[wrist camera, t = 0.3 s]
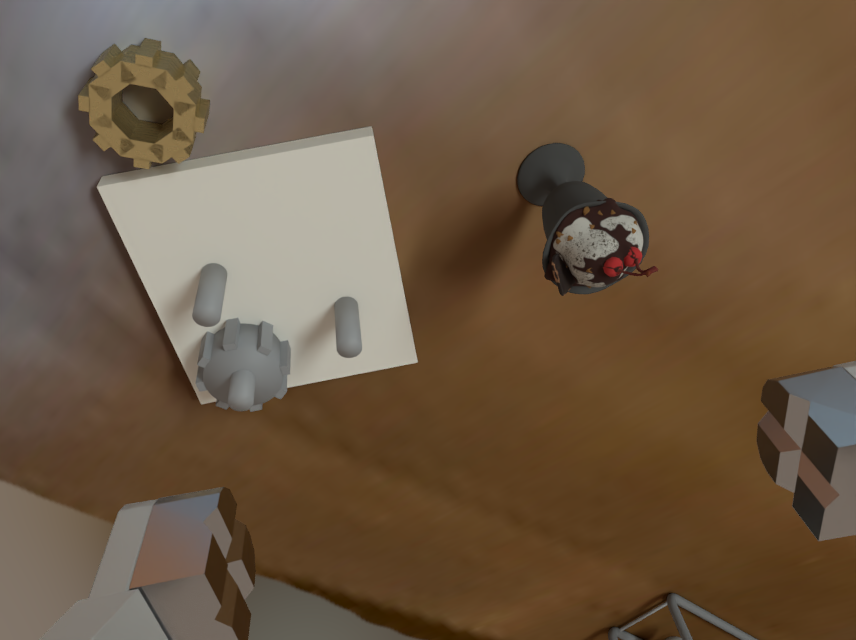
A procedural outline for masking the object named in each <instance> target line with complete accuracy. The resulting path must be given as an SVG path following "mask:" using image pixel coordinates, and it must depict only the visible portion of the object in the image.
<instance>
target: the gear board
mask: <svg viewBox="0 0 856 640" xmlns="http://www.w3.org/2000/svg"><path fill="white" fill-rule="evenodd" d="M97 189H98V191H99V193H100V195H101V197H102V199H103V201H104V203H105V205H106V207H107V209H108V211H109V214H110V216H111V218H112V220H113V222H114V224H115V226H116V228H117V230H118V232H119V234H120V236H121V239H122V241H123V243H124V245H125V247H126V249H127V251H128V253H129V255H130V257H131V259H132V261H133V263H134V266H135V268H136V270H137V272H138V274H139V276H140V278H141V280H142V282H143V284H144V286H145V288H146V291H147V293H148V295H149V297H150V299H151V301H152V303H153V305H154V307H155V309H156V311H157V313H158V315H159V318H160V320H161V322H162V324H163V326H164V328H165V330H166V332H167V334H168V336H169V338H170V340H171V343H172V345H173V347H174V349H175V351H176V353H177V355H178V357H179V359H180V361H181V363H182V365H183V367H184V370H185V372H186V374H187V376H188V378H189V380H190V382H191V384H192V386H193V388H194V390H195V392H196V395H197V397H198V399H199V401H200V403H201V404H206V403H211V402H216V406H218V407H221V408H223V409H226V410H227V408H228V407H230V408H232V409H233V410H236V411H246V410H248V409H250V412H252V411H257V410H262V403H265V402H267V401H268V400H270V399H272V398H273V397H277V398H279V399H281V398H282V397H283V396H284V395H285V394H286V392H287V388H288V387H294V386H299V385H304V384H309V383H314V382H319V381H325V380H330V379H335V378H340V377H345V376H350V375H356V374H361V373H366V372H371V371H376V370H381V369H387V368H392V367H397V366H402V365H407V364H412V363H418V361H417V356H416V351H415V346H414V341H413V335H412V330H411V325H410V320H409V315H408V310H407V305H406V300H405V294H404V289H403V284H402V279H401V274H400V269H399V264H398V259H397V253H396V248H395V243H394V238H393V233H392V228H391V223H390V218H389V212H388V207H387V202H386V197H385V192H384V187H383V182H382V177H381V171H380V166H379V161H378V156H377V151H376V146H375V141H374V136H373V130H372V126H370V127H365V128H360V129H354V130H349V131H344V132H338V133H333V134H327V135H322V136H317V137H311V138H306V139H300V140H295V141H290V142H284V143H279V144H274V145H268V146H263V147H257V148H252V149H247V150H241V151H236V152H230V153H225V154H220V155H214V156H209V157H204V158H198V159H193V160H187V161H182V162H181V163H179V164H178V163H171V164H166V165H160V166H155V167H150V169H139V170H134V171H128V172H123V173H117V174H112V175H107V176H102V177H101V179H100V181H99V183H98V185H97Z"/></svg>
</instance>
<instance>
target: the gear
mask: <svg viewBox="0 0 856 640" xmlns="http://www.w3.org/2000/svg"><path fill="white" fill-rule="evenodd" d="M91 69H92V71H93V72H94V73H95V76H94V77H93V78H92V77H91V78H90V79H89V81H88V82H87V84H86V85H85V87H84V88H83V89H82V91H81V92H80V94H79V95H78V99H79V110H80V111H85V112H89V125H90V126H91V127H92V128H93V129H94V130H95V131H96V134H95V136H94V138H93V139H92V140H93V141H94V142H95V143H96V144H97V145H98V146H99V147H100V148H101V149H102V150H103V151H105V150H107V149H108V148H110V147H112V148H113V149H114V150H115V151H116V152H117V153H118V154H119V155H120V156H122V157H127V158H133V159H134V167H138V168H144V169H150V166H151V164H152V162H157V163H164V162H165V161H167V160H168V159H170V158H171V157H172V158H173V159H174V160H175V161H176V162H177V163H178V164H179V163H181V162H182V161H184V160H185V159H187V158H188V157H190V154H191V151H192V147H193V144H194V141H195V138H196V136H195V135H196V132H201V133H204V130H205V126H206V122H207V119H208V115H209V107H210V100H205V99H201V90H202V87H201V85H200V84H199V83H198V82H197V80H198V77H199V74H200V71H199V70H198V68H197V67H196V66H195V65H194V63H193V62H192V61H191V60H188V61H187V62H185V63H184V64H182V62H181V61H180V60H179V59H178V58H177V56H176V55H175V54H174V53H169V52H164V51H161V41H156V40H152V39H147V38H145V39H144V41H143V42H142V44H141V46H135V45H130V46H129V47H127V48H126V49H125V50H123V51H121V50H120V49H119V48H118V47H117V46H116V45H115V44H113V45H112V46H111V47H109V48H108V49H107V50H105V51H104V52H103V53H102V54H101V56H100V57H99V58H98V60H97V61H96V63H95V64H94V65H93V67H92V68H91ZM129 84H134V85H139V86H144V87H149V88H154V89H157V90H158V91H159V92H160V94H161V95H162V96H163V97H164V98H165V99H166V101H167V102H168V103H169V104H170V105H171V106H172V107H173V109H174V115H173V117H172V118H171V119H169V120H168V121H166V122H165V123H164V124H159V123H153V122H148V121H142V120H138V118H137V117H136V116H135V115H134V114H133V113H132V112H131V111H130V110H129V109H128V108H127V106H126V105H125V104H124V103H123V102H122V89H124V88H125V87H126V86H128V85H129Z"/></svg>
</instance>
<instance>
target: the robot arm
mask: <svg viewBox="0 0 856 640" xmlns="http://www.w3.org/2000/svg"><path fill="white" fill-rule="evenodd" d="M761 402H762V403H763V404H764V405H765V407H766V408H767V409H768V410H769V411H768V412H767V414H766V415H765V416H764V417H763V418H762V419H761V421H760V422H759V423H758V429H757V445H758V449H759V454H760V458H761V460H762V462H763V464H764V466H765V469H766V471H767V472H768V474H769V475H770V476H771V478H772V479H773V481H774V482H775V483H776V484H777V485H779V486H781V487H783V488H785V489H787V490H789V491H791V492H793V493H794V498H793V505H792V506H793V508H794V509H795V510H796V512H797V513H798V514H799V516H800V517H801V518H802V520H803V521H804V522H805V524H806V525H807V526H808V528H809V529H810V530H811V532H812V533H813V534H814V536H815V537H816V538H817V540H818V541H822V540H828V539H834V538H840V537H845V536H851V535H856V361H853V362H848V363H844V364H839V365H834V366H833V367H827V368H822V369H817V370H812V371H807V372H802V373H798V374H793V375H788V376H783V377H778V378H773V379H768V380H767V382H766V383H765V385H764V386H763V390H762V396H761ZM236 508H237V503H236V501H235V499H234V497H233V495H232V493H231V491H230V489H228V488H225V487H221V488H215V489H210V490H204V491H198V492H192V493H187V494H181V495H175V496H169V497H163V498H159V499H157V500H151V501H145V502H139V503H133V504H127V505H125V506H124V507H123V508H122V509H121V510H120V511H119V512H118V514H117V517H116V520H115V523H114V526H113V529H112V531H111V534H110V537H109V540H108V543H107V546H106V549H105V552H104V554H103V557H102V560H101V563H100V566H99V569H98V571H97V574H96V577H95V580H94V583H93V586H92V589H91V592H90V595H89V597H88V599H84V600H79V601H77V602H76V603H75V604H74V605H73V606H72V607H71V608H70V609H69V610H68V611H67V612H66V613H65V614H64V615H63V616H62V617H61V618H60V619H59V620H58V621H57V622H56V623H55V624H54V625H53V626H52V627H51V628H50V629H49V630H48V631H47V632H46V633H45V634H44V635H43V636H42V637H41V638H40V639H39V640H248V636H249V627H250V618H251V613H250V611H249V609H248V607H247V604H246V602H245V599H246V597H247V596H248V595H249V593H250V592H251V591H252V590H253V588H254V583H255V572H256V569H255V554H254V548H253V544H252V540H251V536H250V534H249V531H248V529H247V526H246V525H245V524H243V523H241V522H240V521H238V520H236V519H235V515H236Z"/></svg>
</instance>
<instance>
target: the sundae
mask: <svg viewBox="0 0 856 640" xmlns="http://www.w3.org/2000/svg"><path fill="white" fill-rule="evenodd" d="M584 174H585V166H584V161H583V159H582V156H581V155H580V153H579V152H578V151H577V150H576V149H574V148H573V147H571V146H569V145H566V144H561V143H553V144H548V145H544V146H541V147H540V148H538V149H536V150H535V151H533V152H532V153H531V154H529V155H528V157H527V158H526V159H525V160H524V162H523V163H522V165H521V167H520V170H519V173H518V187H519V190H520V192H521V194H522V195H523V197H524V198H525V199H526V200H527V201H529V202H531V203H533V204H535V205H539V206H543V208H542V218H543V227H544V231H545V234H546V238H547V242H546V245H545V248H544V251H543V259H542V264H543V269H544V272H545V278H546V279H547V280H551V281H552V282H553V283H554V284H555V285H556V286H558V289H559V292H560V294H561V295H562V296H564V295H565V294H566V293H567V292H570V293H575V294H591V293H595V292H598V291H601V290H603V289H606V288H607V287H609V286H611V285H613V284H614V283H616V282H618V281H620V280H621V279H623V278H625V277H626V276H628V275H634V276H642V275H646V276H647V277H648V276H649V275H650V274H651V273H654V272H656V271H658V269H657V268H656V267H655V266H653V267H651V268H649V269H647V270H644V271H643V270H641V269H640V268H639V265H640V264H641V262H642V260H643V258H644V257H645V255H646V252H647V249H648V245H649V232H648V226H647V223H646V220H645V218H644V216H643V214H642V213H641V212H640V211H639V210H638V209H636V208H634V207H633V206H630V205H628V204H625V203H620V202H616V201H615V200H613V199H612V198H607V197H606V196H605V195H604V194H603V193H602V192H600V191H599V190H597V189H596V188H594V187H593V186H591V185H589V184H587V183H585V182H582V181H583V178H584ZM635 269H637V270H638V271H639V272H641V274H637V273H632V272H633V271H634V270H635Z"/></svg>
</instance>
